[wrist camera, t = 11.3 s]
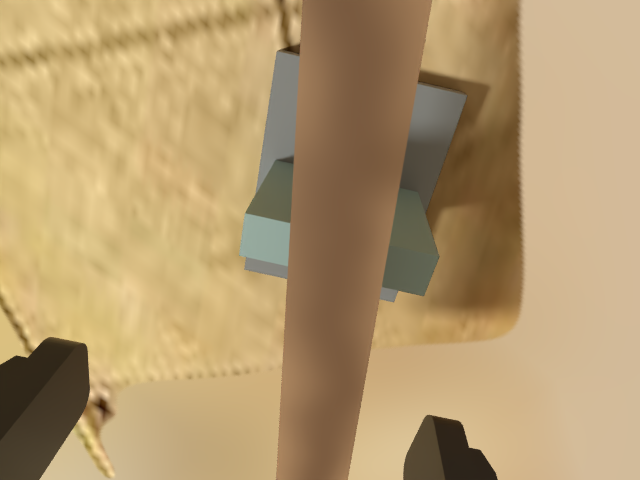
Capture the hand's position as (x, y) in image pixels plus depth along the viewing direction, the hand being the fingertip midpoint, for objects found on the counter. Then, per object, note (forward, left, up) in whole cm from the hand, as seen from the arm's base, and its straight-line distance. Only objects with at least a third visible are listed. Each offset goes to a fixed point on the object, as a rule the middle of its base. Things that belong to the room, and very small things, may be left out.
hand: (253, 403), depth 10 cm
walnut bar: (+2, -3, -12) cm, 13 cm away
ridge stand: (+2, -3, -23) cm, 23 cm away
